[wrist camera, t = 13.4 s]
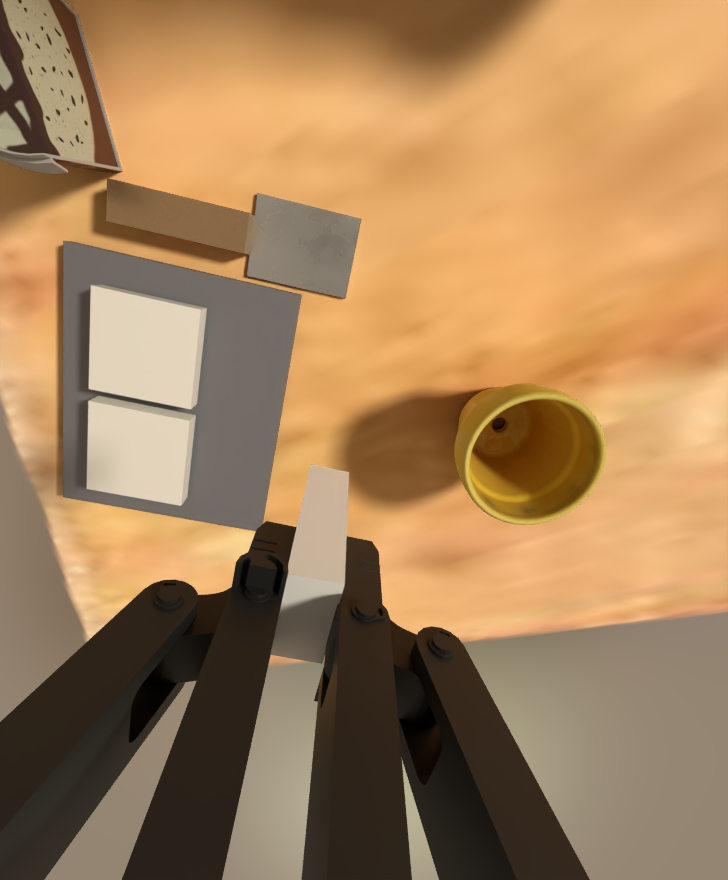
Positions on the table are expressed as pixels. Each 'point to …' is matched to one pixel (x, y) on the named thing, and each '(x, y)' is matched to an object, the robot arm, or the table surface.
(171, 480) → the tile
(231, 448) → the mat
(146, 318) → the tile
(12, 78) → the food container
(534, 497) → the plant pot
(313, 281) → the turner
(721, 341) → the table surface
